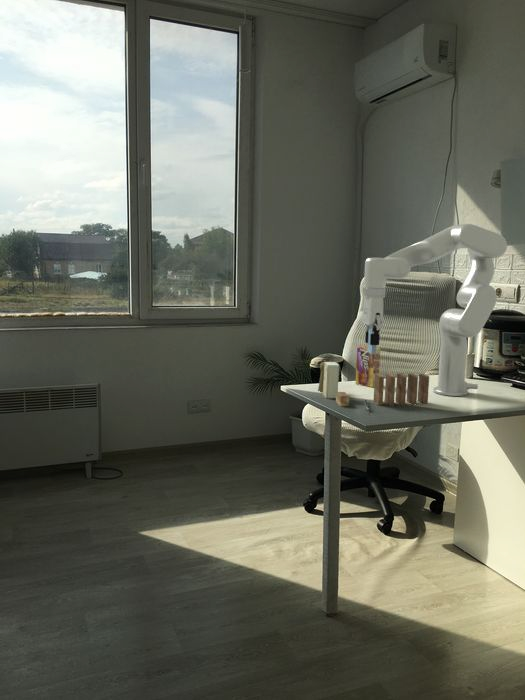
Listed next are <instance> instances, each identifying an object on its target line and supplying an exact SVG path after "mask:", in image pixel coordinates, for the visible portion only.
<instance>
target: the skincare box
mask: <svg viewBox="0 0 525 700" xmlns="http://www.w3.org/2000/svg"><path fill="white" fill-rule="evenodd" d="M324 362H325V364H324V383H323V392H322V395H323V396H324V398H325V399H336V392H339V376H340V375H339V373H340V364H339V363H338V362H337V361H324Z"/></svg>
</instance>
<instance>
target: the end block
mask: <svg viewBox="0 0 525 700" xmlns="http://www.w3.org/2000/svg"><path fill="white" fill-rule="evenodd" d="M335 403H336V405H338V406H340V407H349V406H350V395H349V394H348V393H346V392H345V391H338V392H336V398H335Z"/></svg>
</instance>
